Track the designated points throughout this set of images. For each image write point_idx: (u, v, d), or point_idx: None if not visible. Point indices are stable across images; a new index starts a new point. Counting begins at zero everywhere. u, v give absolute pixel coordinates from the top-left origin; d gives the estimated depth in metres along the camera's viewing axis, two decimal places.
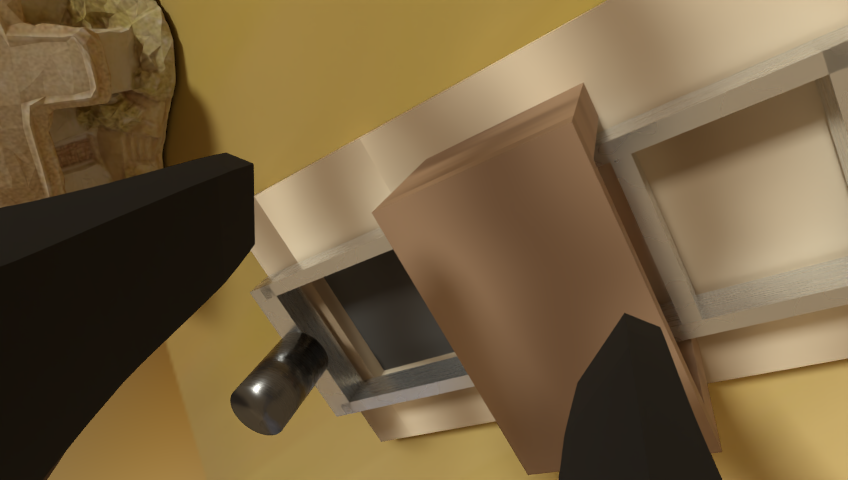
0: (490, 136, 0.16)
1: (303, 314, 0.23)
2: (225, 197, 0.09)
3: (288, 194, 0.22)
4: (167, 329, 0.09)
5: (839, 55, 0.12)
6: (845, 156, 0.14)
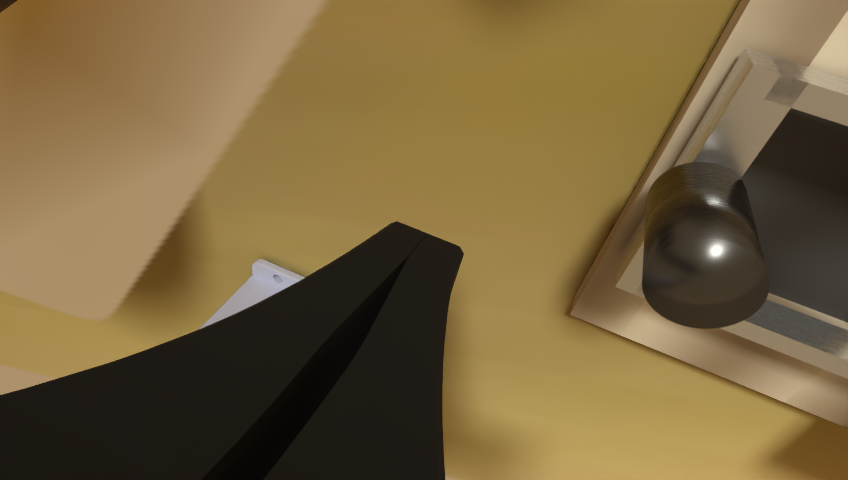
0: None
1: None
2: None
3: None
4: None
5: None
6: None
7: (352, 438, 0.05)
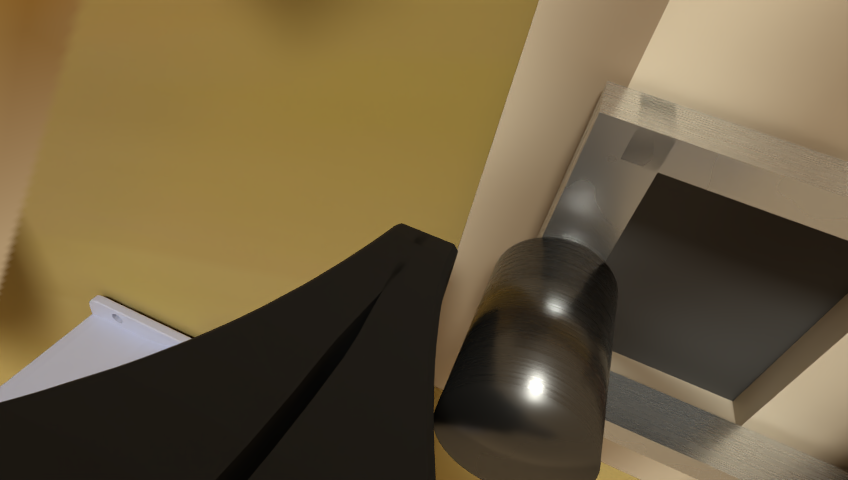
0: None
1: None
2: None
3: None
4: None
5: None
6: None
7: (342, 434, 0.05)
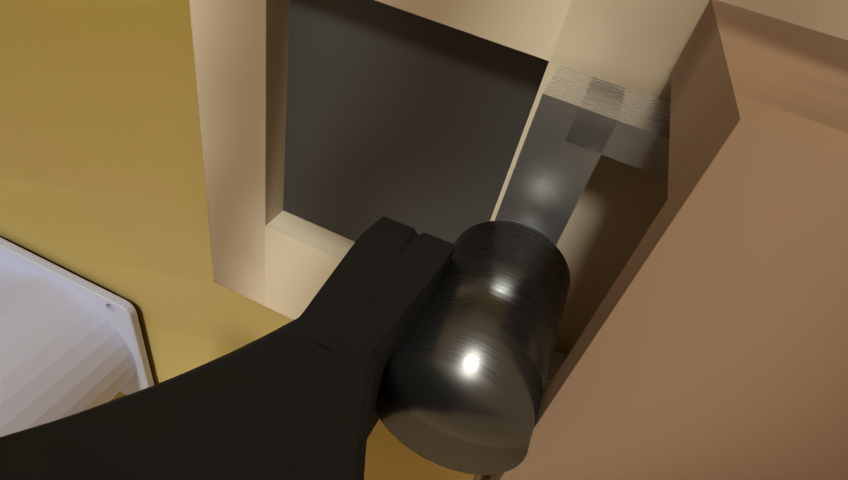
0: None
1: None
2: (436, 285, 0.08)
3: None
4: (372, 426, 0.09)
5: None
6: None
7: (275, 401, 0.05)
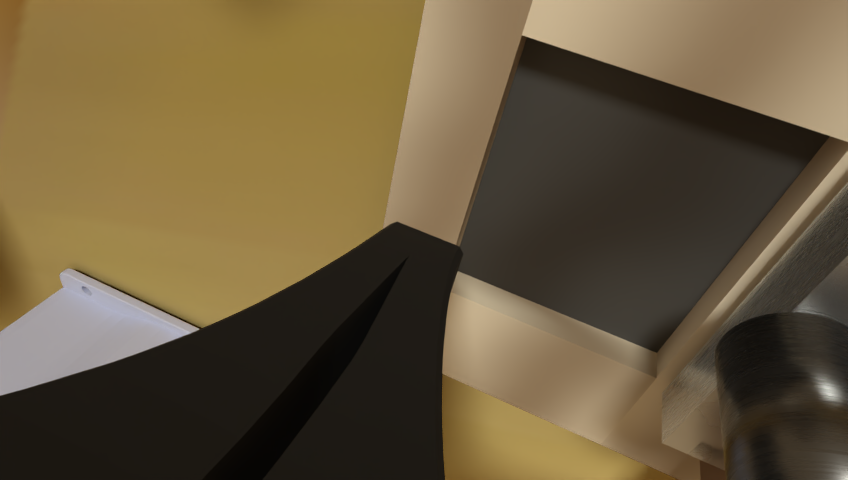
0: None
1: None
2: None
3: None
4: None
5: None
6: None
7: (351, 438, 0.05)
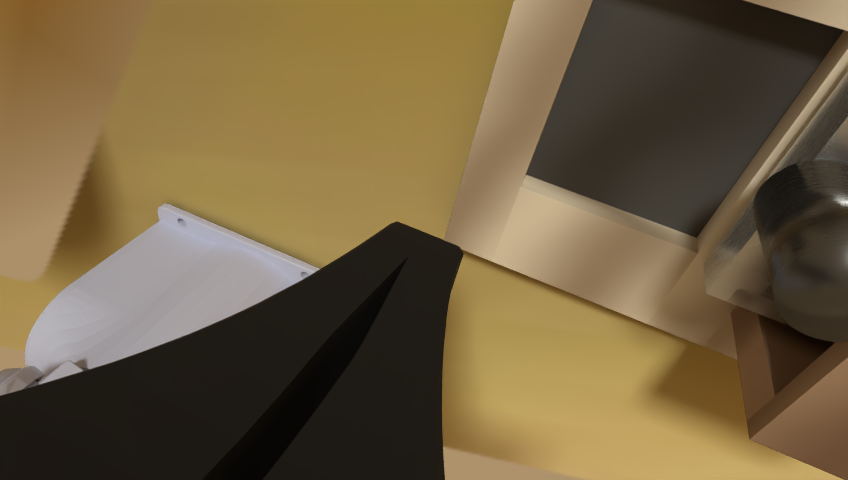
0: None
1: None
2: None
3: None
4: None
5: None
6: None
7: (351, 438, 0.05)
